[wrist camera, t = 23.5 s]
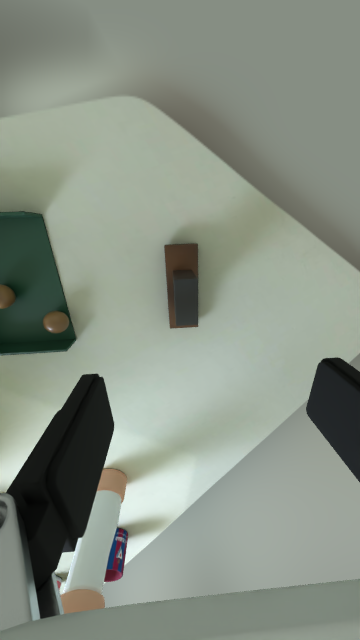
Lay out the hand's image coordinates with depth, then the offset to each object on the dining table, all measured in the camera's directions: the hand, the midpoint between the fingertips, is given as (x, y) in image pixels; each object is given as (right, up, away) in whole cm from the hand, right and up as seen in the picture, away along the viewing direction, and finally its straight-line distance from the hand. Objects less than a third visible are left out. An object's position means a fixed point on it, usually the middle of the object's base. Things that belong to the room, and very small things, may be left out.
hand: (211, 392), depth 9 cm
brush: (-1, +8, +19) cm, 20 cm away
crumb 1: (-24, +6, +16) cm, 30 cm away
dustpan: (-27, +7, +17) cm, 33 cm away
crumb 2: (-18, +3, +18) cm, 26 cm away
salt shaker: (-16, -31, +34) cm, 49 cm away
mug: (-19, -53, +43) cm, 71 cm away
